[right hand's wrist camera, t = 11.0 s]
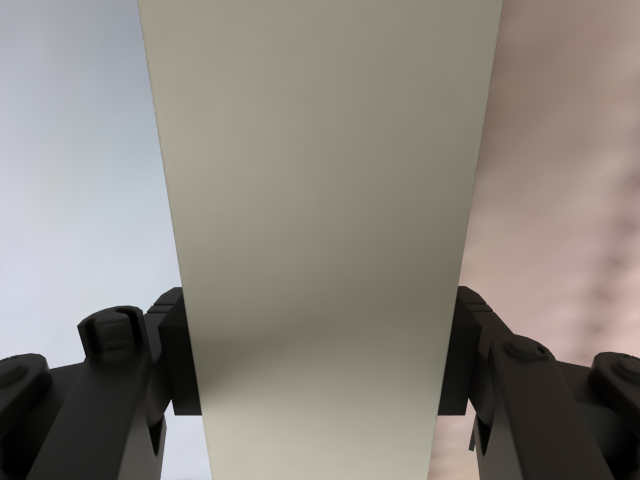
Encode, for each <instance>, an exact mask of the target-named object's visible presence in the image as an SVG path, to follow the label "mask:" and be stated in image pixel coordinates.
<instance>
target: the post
mask: <svg viewBox="0 0 640 480" xmlns="http://www.w3.org/2000/svg"><path fill="white" fill-rule="evenodd" d="M502 6H503V0H138V7H139V13H140V19H141V26H142V32H143V39H144V45H145V52H146V58H147V64H148V71H149V77H150V84H151V90H152V96H153V103H154V109H155V116H156V122H157V129H158V135H159V141H160V148H161V154H162V161H163V167H164V173H165V180H166V186H167V193H168V199H169V206H170V212H171V218H172V225H173V231H174V238H175V244H176V250H177V257H178V263H179V270H180V276H181V283H182V289H183V295H184V302H185V308H186V315H187V321H188V327H189V334H190V340H191V347H192V353H193V360H194V366H195V372H196V379H197V385H198V392H199V398H200V404H201V411H202V417H203V424H204V430H205V437H206V443H207V449H208V456H209V462H210V469H211V475H212V480H427V477H428V471H429V465H430V459H431V452H432V446H433V440H434V434H435V427H436V421H437V415H438V408H439V402H440V396H441V390H442V383H443V377H444V371H445V364H446V358H447V352H448V346H449V339H450V333H451V327H452V320H453V314H454V308H455V302H456V295H457V289H458V283H459V277H460V270H461V264H462V258H463V251H464V245H465V239H466V233H467V226H468V220H469V214H470V207H471V201H472V195H473V189H474V182H475V176H476V170H477V163H478V157H479V151H480V145H481V138H482V132H483V126H484V119H485V113H486V107H487V101H488V94H489V88H490V82H491V76H492V69H493V63H494V57H495V50H496V44H497V38H498V32H499V25H500V19H501V13H502Z"/></svg>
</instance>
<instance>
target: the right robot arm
mask: <svg viewBox="0 0 640 480" xmlns="http://www.w3.org/2000/svg"><path fill="white" fill-rule="evenodd" d="M77 328H78V331H79V335H80V338H81V341H82V345H83V348H84V352H85V355H86V358H85V360H84V362H82V363H78V364H73V365H68V366H63V367H58V368H53V369H49V367H48V364H47V361H46V358H45V357H43V356H42V355H40V354H32V353H29V354H22V355H15V356H11V357H10V358H9V357H8V358H5V359H2V360H0V480H160V477H161V469H162V461H163V453H164V445H165V437H166V429H167V427H166V420H165V416H164V412H165V410H166V408H167V407H168V405H169V403H170V401H171V399H172V404H173V409H174V414H175V415H202V411H201V404H200V398H199V392H198V385H197V379H196V372H195V366H194V360H193V353H192V347H191V340H190V334H189V327H188V321H187V315H186V308H185V302H184V295H183V289H182V287H174V288H172V289H171V290H169V291H167V292H166V293H164V294H162V295H161V296H160V297H159V298H158V300H157V301H156V302H155V303H154V306H151V308H150V309H149V310H148V311H147V313H145V314H144V316H143V311H142V310H141V309H139V308H138V307H134V306H116V307H111V308H107V309H104V310H101V311H98V312H96V313H93V314H92V315H90V316H88V317H87V318H85V319H83V320H82V321H81V322H80V323H79V325H78V326H77ZM468 398H469V399H470V401H471V403H472V405H473V407H474V409H475V411H476V416H475V420H474V425H473V430H472V435H471V440H470V445H469V450H471V451H474V447H475V444H476V452H477V460H478V468H479V476H480V480H640V358H637V357H634V356H630V355H628V354H623V353H615V352H602V353H599V354H597V355H596V356H595V357H594V360H593V363H592V366H591V368H590V367H585V366H580V365H575V364H570V363H565V362H560V361H557V360H556V359H555V357H554V356H553V354H552V353H551V352H550V351H549V349H547V348H546V347H545V346H543V345H542V344H540V343H539V342H537V341H534V340H532V339H530V338H528V337H524V336H520V335H516V334H513V333H512V331H511V330H510V329H509V328H508V327H507V326H506V325H505V323H504V322H503V321H502V320H501V319H500V318H499V317H498V315H497V314H496V313H495V312H493V310H492V309H491V308H490V306H489V305H486V302H485V301H484V300H483V298H482V297H481V296H480V295H479V294H478V293H476V292H474V291H473V290H471V289H469V288H468V287H466V286H458V289H457V295H456V302H455V308H454V314H453V320H452V327H451V333H450V339H449V346H448V352H447V358H446V364H445V371H444V377H443V383H442V390H441V396H440V402H439V408H438V415H465V413H466V408H467V403H468Z"/></svg>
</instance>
